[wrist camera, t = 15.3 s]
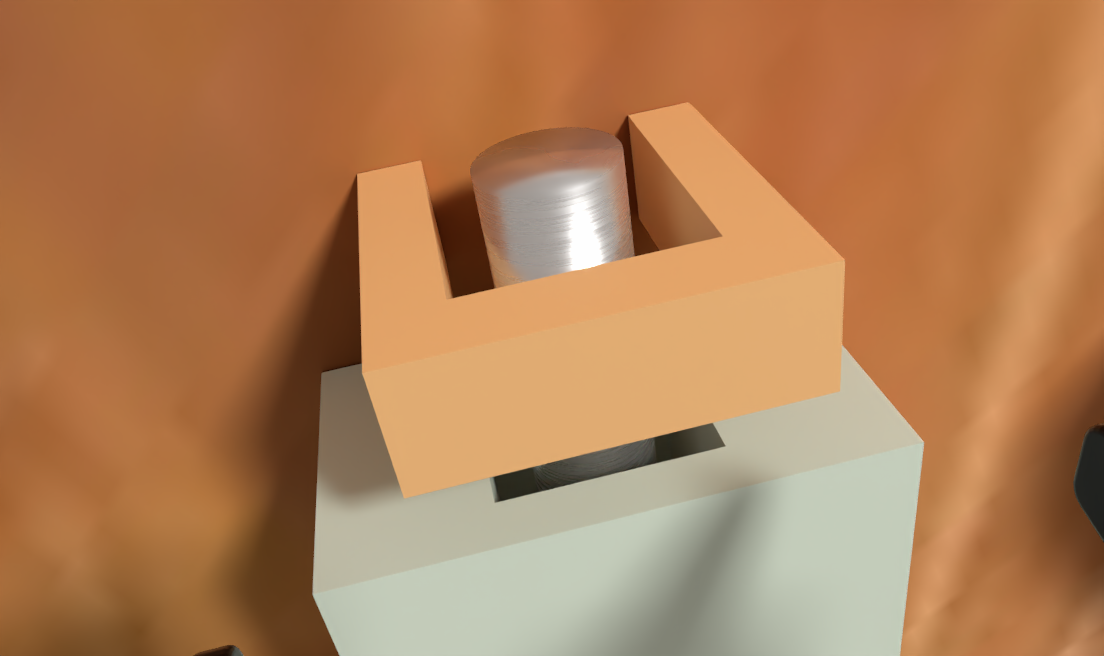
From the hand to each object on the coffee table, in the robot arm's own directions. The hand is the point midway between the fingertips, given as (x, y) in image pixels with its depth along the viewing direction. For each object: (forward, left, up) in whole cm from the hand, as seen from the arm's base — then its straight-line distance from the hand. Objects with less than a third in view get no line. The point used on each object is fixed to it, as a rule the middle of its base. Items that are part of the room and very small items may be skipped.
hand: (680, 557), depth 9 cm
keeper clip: (0, 0, -10) cm, 10 cm away
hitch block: (-6, 0, -10) cm, 12 cm away
